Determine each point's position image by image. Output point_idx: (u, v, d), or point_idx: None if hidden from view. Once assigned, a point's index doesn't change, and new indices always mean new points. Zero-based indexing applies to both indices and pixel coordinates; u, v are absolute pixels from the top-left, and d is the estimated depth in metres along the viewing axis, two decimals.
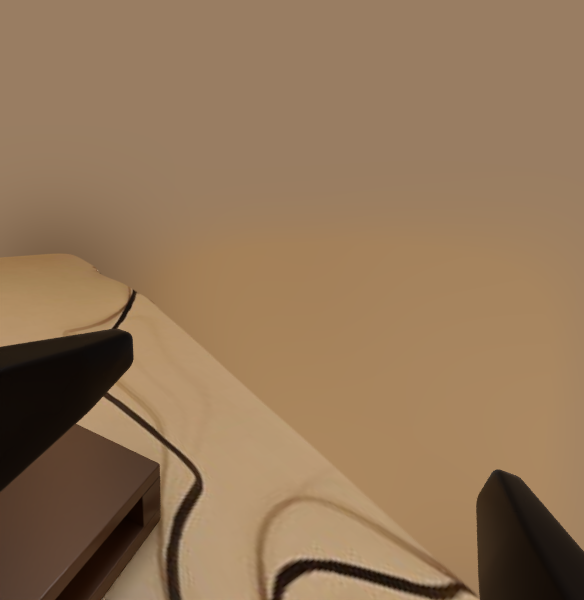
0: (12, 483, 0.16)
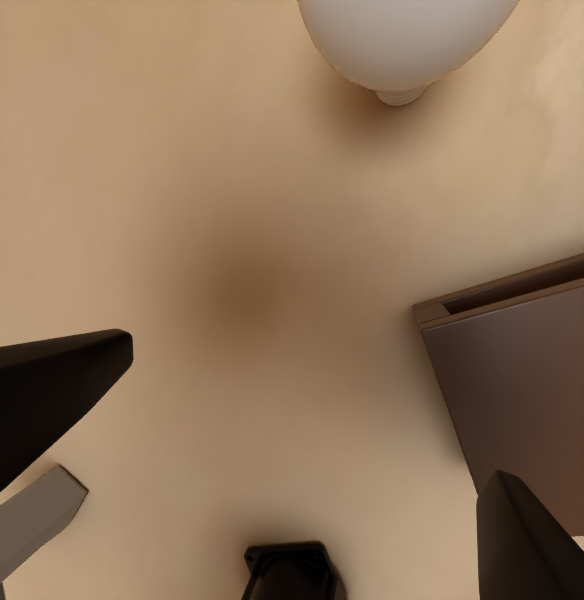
0: None
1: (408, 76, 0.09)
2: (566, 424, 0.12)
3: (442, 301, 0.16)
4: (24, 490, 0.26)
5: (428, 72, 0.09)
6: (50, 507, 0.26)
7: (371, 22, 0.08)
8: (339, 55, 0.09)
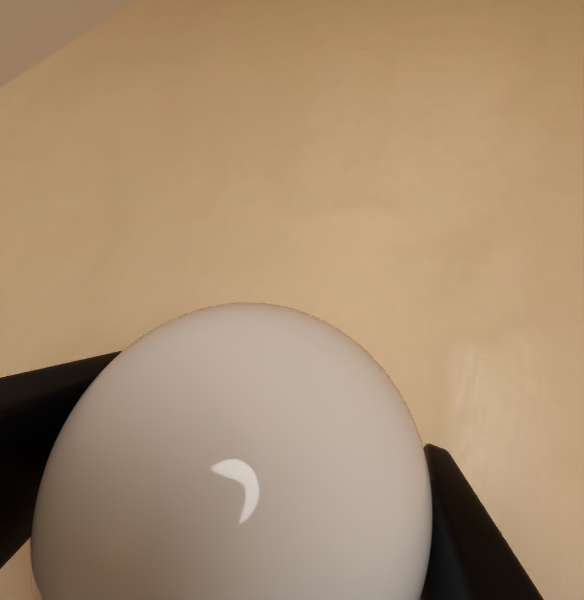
0: None
1: None
2: None
3: None
4: None
5: None
6: None
7: None
8: None
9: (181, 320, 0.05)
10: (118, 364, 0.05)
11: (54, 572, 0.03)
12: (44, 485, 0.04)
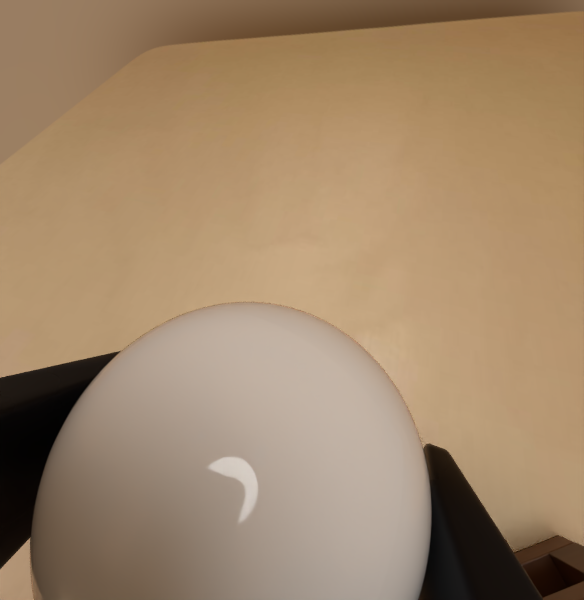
0: None
1: None
2: None
3: None
4: None
5: None
6: None
7: None
8: None
9: (181, 319, 0.05)
10: (118, 363, 0.05)
11: (54, 570, 0.03)
12: (44, 484, 0.04)
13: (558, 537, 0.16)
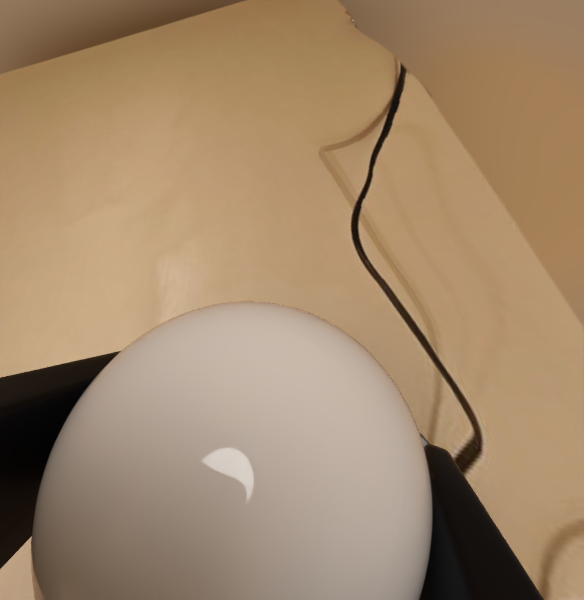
0: None
1: None
2: None
3: None
4: None
5: None
6: None
7: None
8: None
9: (182, 319, 0.05)
10: (119, 362, 0.05)
11: (56, 569, 0.03)
12: (45, 483, 0.04)
13: None
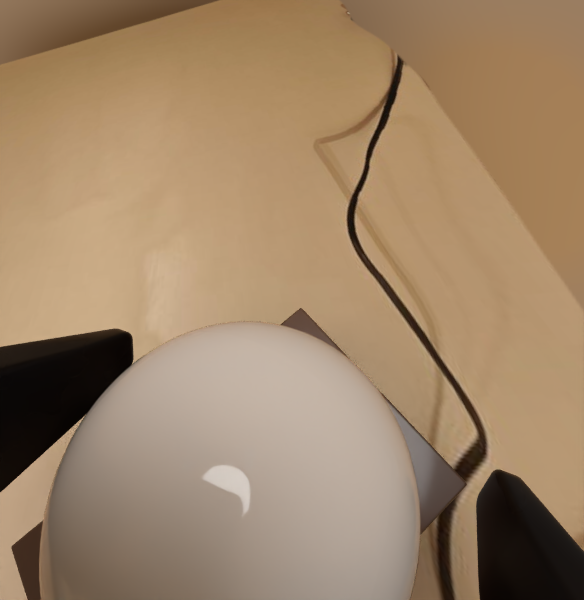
0: None
1: None
2: None
3: None
4: None
5: None
6: None
7: None
8: None
9: (180, 342, 0.05)
10: (120, 386, 0.05)
11: (62, 588, 0.04)
12: (52, 504, 0.04)
13: None
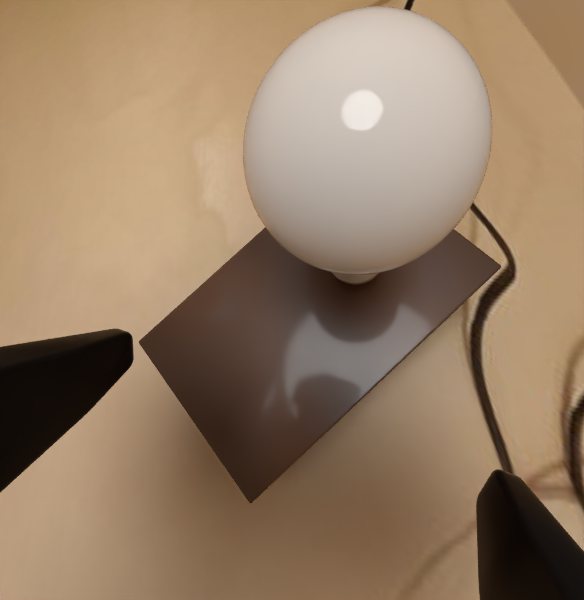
0: None
1: (359, 262, 0.08)
2: (247, 363, 0.16)
3: None
4: None
5: (380, 261, 0.08)
6: None
7: (316, 206, 0.07)
8: (283, 232, 0.08)
9: None
10: (292, 41, 0.07)
11: (294, 108, 0.06)
12: (266, 95, 0.07)
13: None
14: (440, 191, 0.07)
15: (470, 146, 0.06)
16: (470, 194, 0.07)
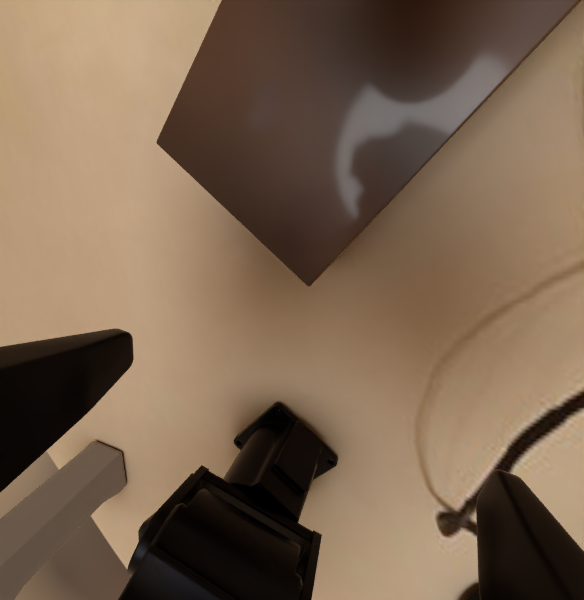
0: None
1: None
2: (281, 144, 0.13)
3: None
4: (70, 462, 0.32)
5: None
6: (92, 468, 0.32)
7: None
8: None
9: None
10: None
11: None
12: None
13: None
14: None
15: None
16: None
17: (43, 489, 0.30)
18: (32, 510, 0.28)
